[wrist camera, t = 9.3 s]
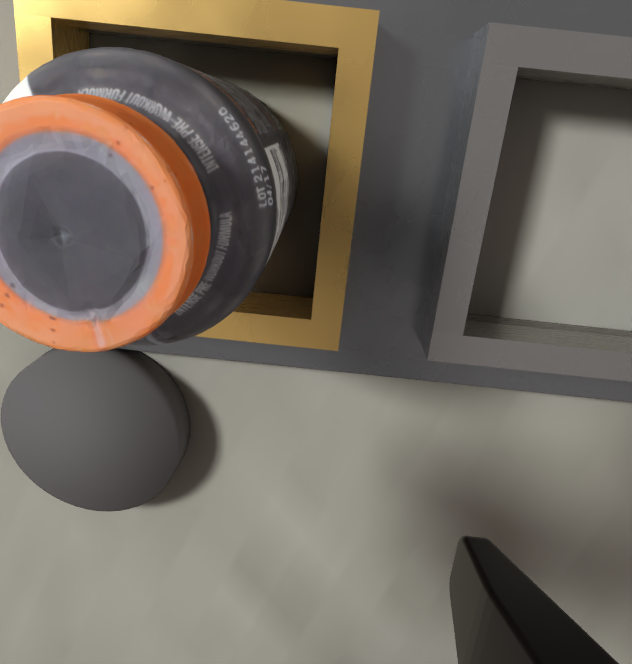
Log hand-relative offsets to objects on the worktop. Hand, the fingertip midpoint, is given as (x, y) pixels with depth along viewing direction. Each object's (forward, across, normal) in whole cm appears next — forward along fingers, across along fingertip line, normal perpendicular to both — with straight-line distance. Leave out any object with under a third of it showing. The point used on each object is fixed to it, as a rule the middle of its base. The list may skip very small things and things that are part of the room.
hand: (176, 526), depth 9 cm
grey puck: (+13, +6, +6) cm, 15 cm away
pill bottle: (+12, +2, -4) cm, 13 cm away
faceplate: (+12, -4, -5) cm, 14 cm away
